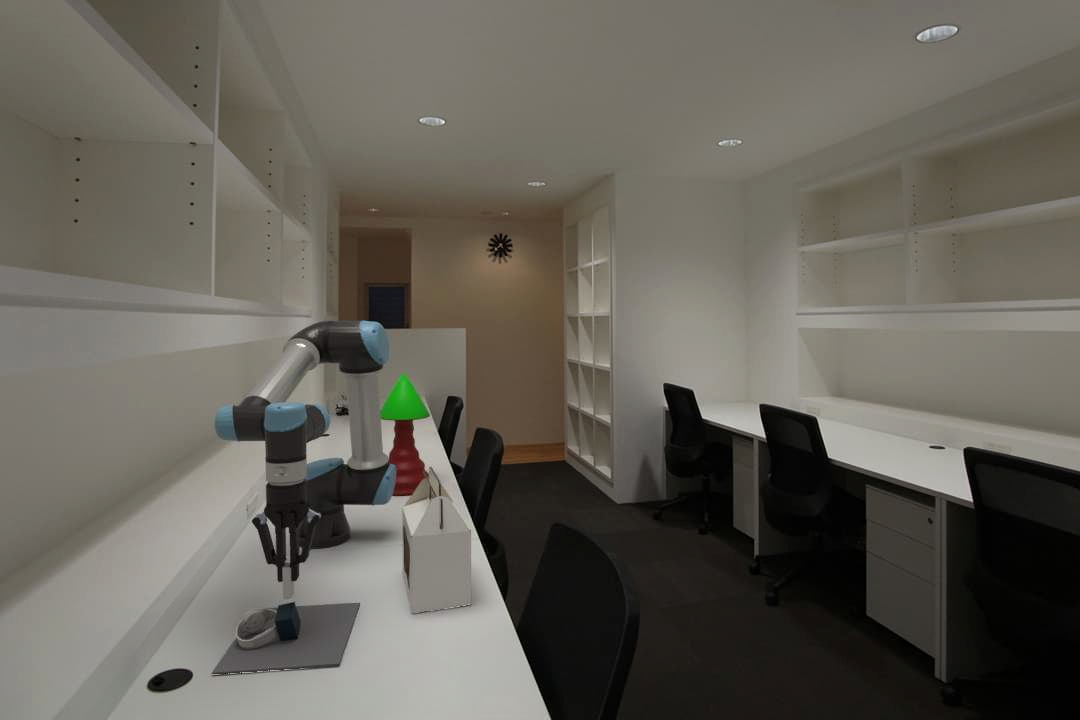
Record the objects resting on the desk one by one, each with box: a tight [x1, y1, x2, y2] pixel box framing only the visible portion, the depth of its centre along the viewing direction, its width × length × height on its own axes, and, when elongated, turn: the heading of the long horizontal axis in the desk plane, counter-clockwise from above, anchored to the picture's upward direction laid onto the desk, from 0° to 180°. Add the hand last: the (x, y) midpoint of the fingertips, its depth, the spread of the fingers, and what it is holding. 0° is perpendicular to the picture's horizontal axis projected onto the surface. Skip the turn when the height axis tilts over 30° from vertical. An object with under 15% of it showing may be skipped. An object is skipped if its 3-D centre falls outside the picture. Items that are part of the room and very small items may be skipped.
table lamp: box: [380, 371, 431, 496], centre depth 223 cm, size 20×20×45 cm
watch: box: [234, 601, 301, 649], centre depth 116 cm, size 6×8×11 cm
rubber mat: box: [211, 602, 361, 675], centre depth 118 cm, size 24×22×1 cm
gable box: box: [401, 466, 472, 614], centre depth 139 cm, size 22×13×28 cm, turn 18°
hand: (288, 596), depth 118 cm, fingers closed
